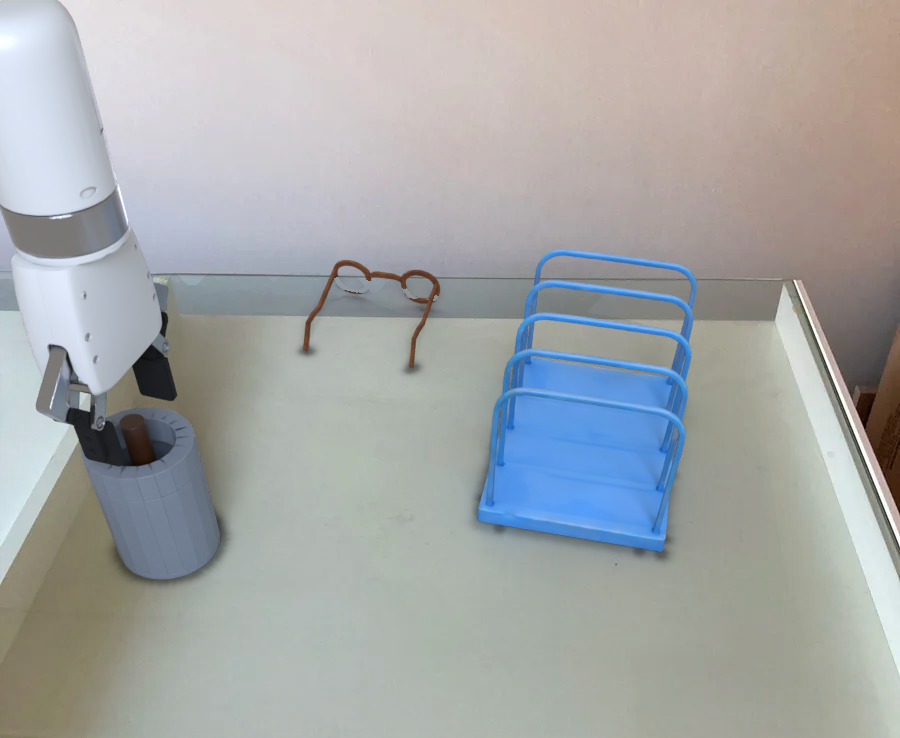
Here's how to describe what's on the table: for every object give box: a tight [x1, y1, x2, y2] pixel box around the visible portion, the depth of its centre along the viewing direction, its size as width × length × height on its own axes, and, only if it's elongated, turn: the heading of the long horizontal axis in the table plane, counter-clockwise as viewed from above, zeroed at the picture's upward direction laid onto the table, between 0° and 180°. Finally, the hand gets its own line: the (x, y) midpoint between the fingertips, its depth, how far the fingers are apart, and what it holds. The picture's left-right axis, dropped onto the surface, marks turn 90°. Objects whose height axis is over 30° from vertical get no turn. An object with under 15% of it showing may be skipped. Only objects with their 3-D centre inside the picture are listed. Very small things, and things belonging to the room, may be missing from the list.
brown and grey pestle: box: [119, 414, 157, 466], centre depth 78 cm, size 4×4×14 cm
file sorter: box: [476, 248, 698, 553], centre depth 86 cm, size 25×17×15 cm
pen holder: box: [80, 406, 221, 580], centre depth 79 cm, size 9×9×12 cm
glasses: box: [302, 259, 441, 369], centre depth 104 cm, size 13×13×5 cm
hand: (133, 426), depth 73 cm, fingers open, 7 cm apart
